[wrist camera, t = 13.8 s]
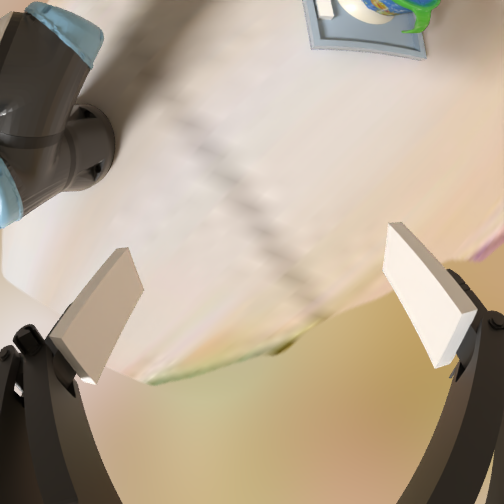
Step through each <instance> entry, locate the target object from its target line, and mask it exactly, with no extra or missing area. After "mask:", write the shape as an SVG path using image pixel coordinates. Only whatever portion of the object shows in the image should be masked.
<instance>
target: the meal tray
mask: <svg viewBox="0 0 504 504" xmlns="http://www.w3.org/2000/svg"><path fill="white" fill-rule="evenodd" d="M302 2H303V6H304V11H305V17H306V22H307V27H308V33H309V39H310V45H311V49H319V50H346V51H359V52H369V53H378V54H385V55H392V56H398V57H404V58H409V59H414V60H424V59H427V57H426V51H425V45H424V40H423V35H422V32H421V33H402V32H401V31H403V30H412V29H413V28H414V25H415V21H416V15H415V13H414V12H410V13H404V14H400V15H395V16H386V15H382V14H379V13H377V12H375V11H373V10H371V9H368V8H367V6H366V5H365V4H364V2H363V1H362V0H302Z"/></svg>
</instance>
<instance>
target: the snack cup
mask: <svg viewBox="0 0 504 504" xmlns="http://www.w3.org/2000/svg"><path fill="white" fill-rule="evenodd" d="M362 1H363V2H364V4H365V5H366V6H367V8H368V9H371V10H373V11H375V12H377V13H379V14H382V15H386V16H395V15H400V14H404V13H410V12H414V13H415V15H416V21H415V25H414V28H413V29H412V30H403V31H401V32H402V33H421V32H422V31H424V30H425V29H426V27H427V26H428V24H429V21H430V18H431V10H432V9H434V8H436V7H437V6H438V5H439V3H440V1H441V0H362Z"/></svg>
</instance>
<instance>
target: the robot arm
mask: <svg viewBox="0 0 504 504" xmlns="http://www.w3.org/2000/svg"><path fill="white" fill-rule="evenodd" d="M103 41H104V34H103V32H102V30H101V29H100V28H99V27H98V26H96V25H95V24H93V23H92V22H90V21H88V20H86V19H84V18H82V17H80V16H78V15H76V14H74V13H72V12H69V11H67V10H64V9H62V8H59V7H54V6H52V5H48V4H46V3H42V2H32V3H31V4H30V5H29V6H28V7H26V8H25V13H20V12H9V13H8V14H6V15H5V16H3V17H2V18H0V229H1V228H5V227H6V226H8V225H10V224H11V223H13V222H15V221H19V220H20V219H21V218H22V217H24V216H25V215H26V214H28V213H29V212H31V211H32V210H34V209H35V208H37V207H38V206H40V205H41V204H43V203H44V202H46V201H47V200H49V199H50V198H52V197H54V196H55V195H57V194H58V193H60V192H69V191H82V190H85V189H88V188H90V187H91V186H93V185H95V184H97V183H98V182H99V181H100V180H102V179H103V177H104V176H105V175H106V174H107V172H108V170H109V168H110V166H111V164H112V161H113V157H114V150H115V140H114V133H113V129H112V126H111V124H110V122H109V120H108V118H107V117H106V115H105V114H104V113H103V112H102V111H101V110H99V109H98V108H96V107H94V106H92V105H87V104H81V105H74V104H75V102H76V99H77V97H78V95H79V93H80V90H81V88H82V86H83V84H84V82H85V80H86V77H87V75H88V73H89V71H90V70H92V68H93V62H94V60H95V58H96V56H97V54H98V52H99V50H100V48H101V46H102V44H103ZM382 271H383V272H384V274H385V276H386V277H387V279H388V281H389V282H390V284H391V286H392V288H393V289H394V291H395V293H396V294H397V296H398V298H399V300H400V301H401V303H402V305H403V307H404V309H405V310H406V312H407V314H408V316H409V318H410V320H411V321H412V323H413V325H414V327H415V329H416V331H417V333H418V335H419V337H420V339H421V341H422V343H423V345H424V347H425V349H426V351H427V353H428V355H429V357H430V359H431V361H432V363H433V366H434V368H435V369H436V368H439V367H442V366H445V365H448V364H450V363H451V361H452V360H453V358H454V356H455V354H457V356H458V357H459V359H460V360H459V362H458V364H457V365H456V367H455V368H454V370H453V372H452V373H451V375H450V377H449V378H452V376H453V375H454V377H453V380H452V384H451V387H450V391H449V393H448V396H447V399H446V402H445V405H444V408H443V411H442V414H441V416H440V419H439V422H438V424H437V427H436V429H435V431H434V434H433V437H432V439H431V441H430V443H429V445H428V447H427V450H426V452H425V454H424V456H423V458H422V460H421V462H420V464H419V466H418V468H417V470H416V472H415V473H414V475H413V477H412V479H411V481H410V482H409V484H408V486H407V487H406V489H405V491H404V492H403V494H402V496H401V497H400V499H399V500H398V502H397V503H396V504H474V503H475V501H476V499H477V496H478V494H479V492H480V489H481V487H482V484H483V482H484V479H485V477H486V474H487V471H488V468H489V465H490V462H491V459H492V456H493V452H494V460H493V467H492V474H491V480H490V485H489V491H488V495H487V499H486V503H485V504H504V316H503V315H502V314H501V313H499V312H497V311H487V309H486V308H485V307H484V305H483V304H482V303H481V301H480V300H479V299H478V298H477V296H476V295H475V294H474V292H473V291H472V290H470V288H469V286H468V285H467V284H465V282H464V280H463V279H462V278H461V277H460V276H459V275H458V274H457V273H455V272H454V271H452V270H450V269H445V268H444V267H443V266H442V264H441V263H440V262H439V261H438V260H437V259H436V258H435V257H434V255H433V254H432V253H431V252H430V251H429V250H428V249H427V248H426V247H425V246H424V245H423V244H422V242H421V241H420V240H419V239H418V238H417V237H416V236H415V235H414V234H413V233H412V232H411V231H410V230H409V229H408V228H407V227H406V226H405V225H404V224H403V223H402V222H397V223H388V232H387V241H386V249H385V256H384V263H383V270H382ZM143 291H144V288H143V286H142V283H141V281H140V278H139V275H138V273H137V270H136V267H135V265H134V262H133V259H132V257H131V254H130V251H129V248H128V247H127V248H118V249H116V250H115V251H114V252H113V254H112V255H111V256H110V257H109V258H108V259H107V261H106V262H105V263H104V264H103V265H102V266H101V268H100V269H99V270H98V271H97V272H96V274H95V275H94V276H93V277H92V279H91V280H90V281H89V282H88V284H87V285H86V286H85V287H84V289H83V290H82V291H81V293H80V294H79V295H78V296H77V298H76V299H75V300H74V302H73V303H71V304H70V305H69V306H68V308H67V309H66V310H65V312H64V314H62V316H61V317H60V319H59V320H58V321H57V323H56V324H55V326H54V327H53V328H52V330H51V331H50V333H49V334H48V336H47V337H46V339H45V340H44V339H43V338H42V336H41V335H40V333H39V332H38V330H37V329H36V327H35V326H34V325H32V324H29V325H26V326H24V327H22V328H21V329H20V330H19V331H18V332H17V333H16V334H15V336H14V338H13V342H14V343H15V345H16V346H17V347H18V349H19V350H20V351H21V353H18V352H17V350H16V349H15V348H14V346H12V345H8V346H6V347H4V348H3V349H1V351H0V504H122V502H121V500H120V498H119V496H118V494H117V492H116V490H115V488H114V486H113V484H112V482H111V480H110V478H109V475H108V473H107V471H106V469H105V467H104V464H103V462H102V459H101V457H100V455H99V452H98V449H97V446H96V444H95V441H94V438H93V435H92V432H91V430H90V427H89V424H88V420H87V417H86V414H85V410H84V407H83V403H82V400H81V396H80V392H79V388H78V384H77V382H76V381H75V379H74V377H75V375H76V373H77V375H78V376H79V377H80V378H81V379H82V381H83V382H87V383H91V384H97V382H98V380H99V378H100V376H101V373H102V371H103V369H104V367H105V365H106V363H107V361H108V358H109V356H110V354H111V352H112V350H113V348H114V346H115V344H116V342H117V340H118V338H119V336H120V334H121V332H122V330H123V328H124V326H125V324H126V323H127V321H128V319H129V317H130V315H131V313H132V311H133V309H134V308H135V306H136V304H137V302H138V300H139V298H140V297H141V295H142V293H143ZM15 385H16V386H17V387H18V389H19V390H20V391H22V396H19V395H18V394H17V393H16V392H15V391H14V386H15ZM494 449H495V451H494Z"/></svg>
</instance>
